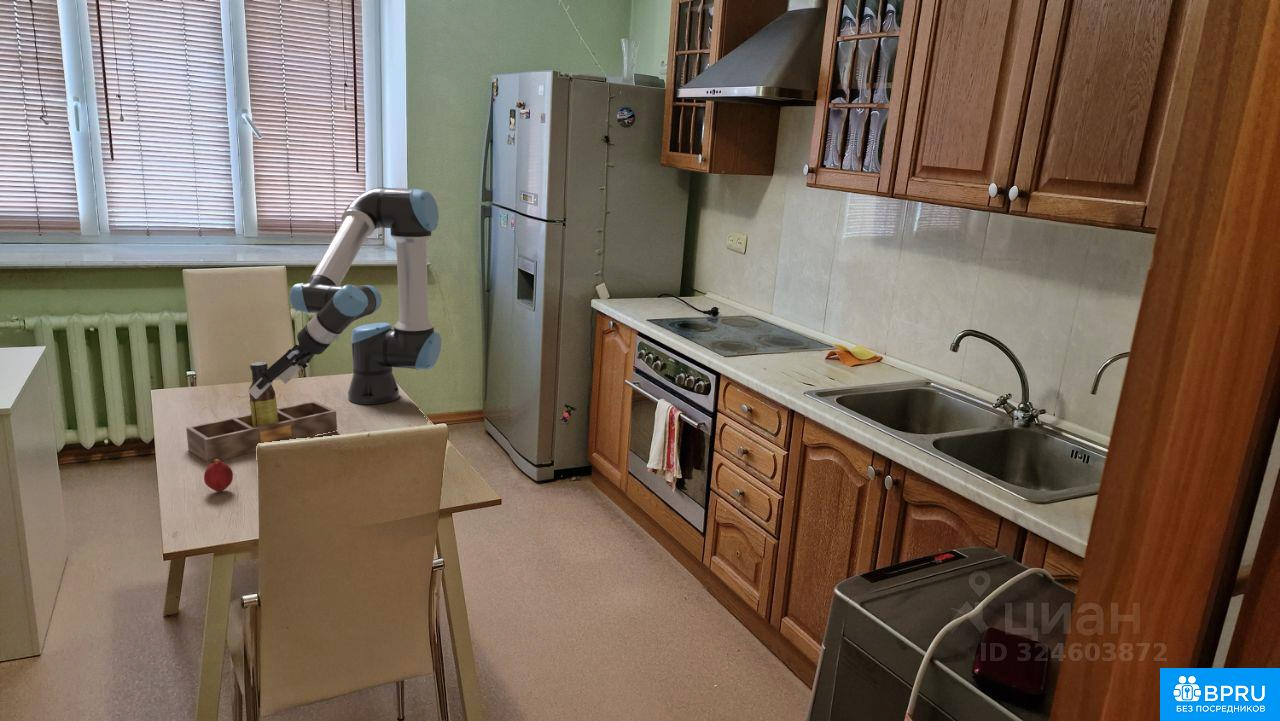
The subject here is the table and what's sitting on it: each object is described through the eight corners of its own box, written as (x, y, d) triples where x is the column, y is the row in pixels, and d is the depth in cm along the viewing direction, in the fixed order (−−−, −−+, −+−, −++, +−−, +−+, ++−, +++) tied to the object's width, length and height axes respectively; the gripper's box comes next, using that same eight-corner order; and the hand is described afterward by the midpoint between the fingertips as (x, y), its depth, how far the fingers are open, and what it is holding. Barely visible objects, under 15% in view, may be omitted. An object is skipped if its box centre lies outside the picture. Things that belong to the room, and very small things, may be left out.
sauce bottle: (284, 434, 220) (279, 362, 215) (267, 441, 214) (261, 367, 209) (265, 430, 222) (259, 359, 217) (247, 437, 216) (241, 364, 211)
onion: (212, 486, 189) (209, 453, 187) (238, 486, 189) (235, 454, 187) (201, 497, 183) (197, 463, 181) (228, 497, 184) (225, 463, 181)
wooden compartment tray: (315, 421, 234) (314, 400, 233) (337, 432, 226) (336, 411, 225) (188, 449, 209) (186, 427, 208) (208, 463, 201) (206, 440, 200)
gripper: (303, 357, 196) (250, 412, 202) (352, 334, 220) (303, 384, 226) (281, 334, 195) (228, 390, 201) (332, 313, 219) (283, 364, 225)
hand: (267, 387), depth 213 cm, fingers open, 13 cm apart
